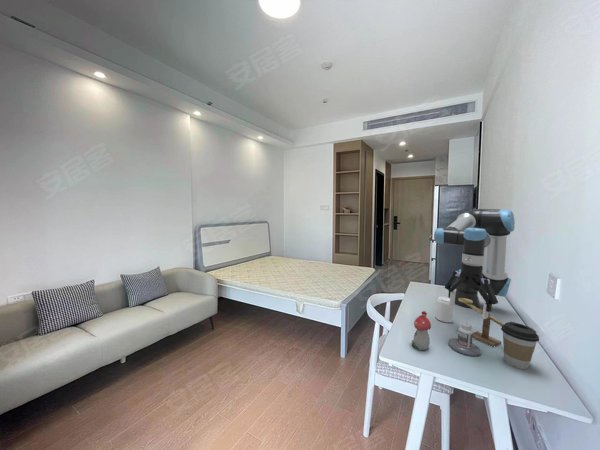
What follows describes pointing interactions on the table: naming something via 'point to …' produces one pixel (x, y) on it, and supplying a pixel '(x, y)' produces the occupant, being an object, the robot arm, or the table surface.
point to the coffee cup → (518, 344)
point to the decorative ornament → (421, 332)
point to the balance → (484, 335)
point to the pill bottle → (465, 335)
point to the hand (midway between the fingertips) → (467, 311)
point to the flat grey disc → (468, 352)
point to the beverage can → (444, 310)
